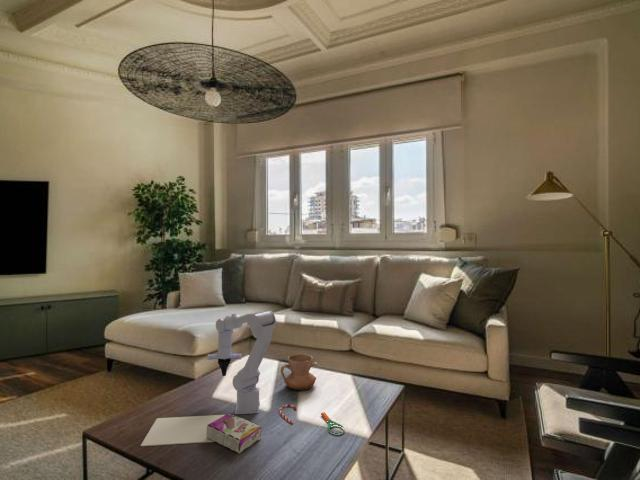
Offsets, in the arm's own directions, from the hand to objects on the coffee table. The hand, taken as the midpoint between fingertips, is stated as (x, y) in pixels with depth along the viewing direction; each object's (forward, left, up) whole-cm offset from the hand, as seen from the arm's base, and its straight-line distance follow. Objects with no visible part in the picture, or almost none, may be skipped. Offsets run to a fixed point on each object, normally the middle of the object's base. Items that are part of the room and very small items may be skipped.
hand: (224, 375), depth 158 cm
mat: (+11, +24, -10) cm, 28 cm away
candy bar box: (-1, +27, -8) cm, 28 cm away
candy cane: (-28, +17, -11) cm, 35 cm away
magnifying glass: (-44, +27, -11) cm, 53 cm away
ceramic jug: (-34, -9, -11) cm, 37 cm away
